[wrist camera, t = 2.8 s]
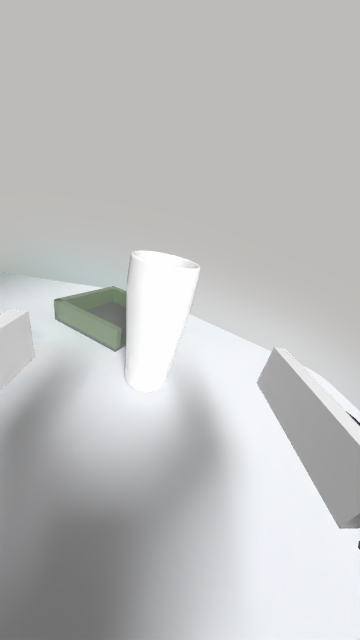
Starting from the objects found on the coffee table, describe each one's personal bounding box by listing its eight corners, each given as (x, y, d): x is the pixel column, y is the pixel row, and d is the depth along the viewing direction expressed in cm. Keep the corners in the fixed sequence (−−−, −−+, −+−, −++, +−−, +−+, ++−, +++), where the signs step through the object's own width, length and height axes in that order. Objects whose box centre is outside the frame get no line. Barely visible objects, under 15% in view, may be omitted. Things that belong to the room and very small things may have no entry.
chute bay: (55, 319, 32) (53, 299, 31) (112, 301, 43) (113, 286, 41) (115, 351, 28) (116, 331, 26) (161, 322, 39) (164, 306, 37)
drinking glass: (152, 410, 21) (182, 272, 14) (105, 380, 23) (113, 249, 16) (181, 376, 26) (211, 266, 20) (141, 354, 29) (157, 249, 22)
